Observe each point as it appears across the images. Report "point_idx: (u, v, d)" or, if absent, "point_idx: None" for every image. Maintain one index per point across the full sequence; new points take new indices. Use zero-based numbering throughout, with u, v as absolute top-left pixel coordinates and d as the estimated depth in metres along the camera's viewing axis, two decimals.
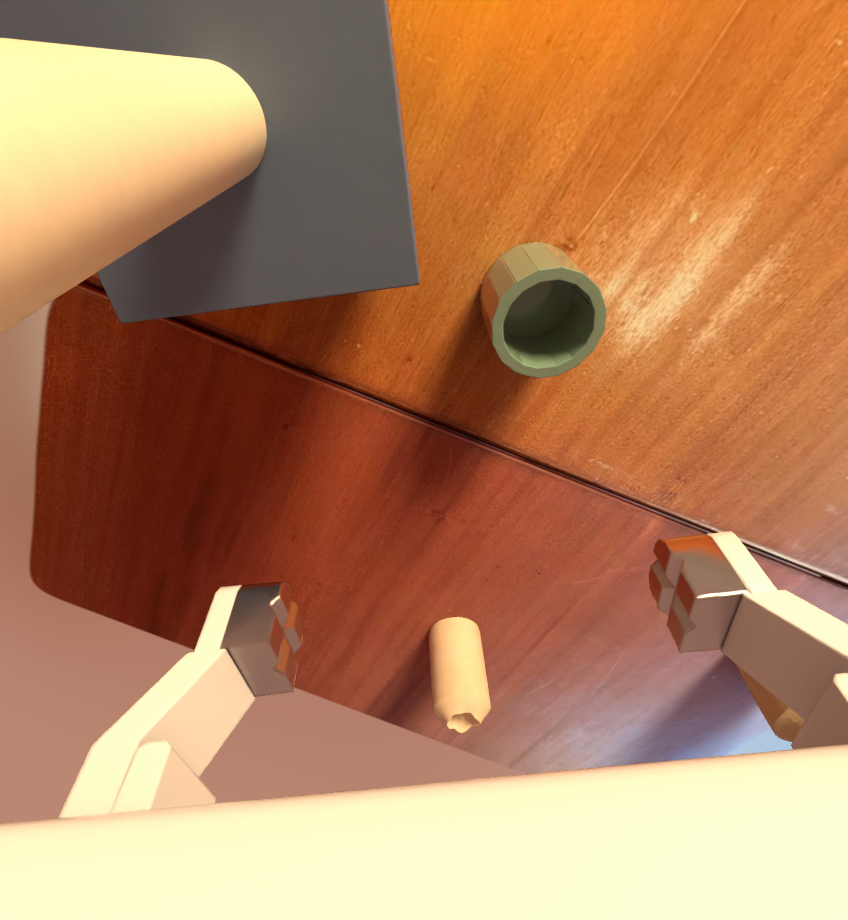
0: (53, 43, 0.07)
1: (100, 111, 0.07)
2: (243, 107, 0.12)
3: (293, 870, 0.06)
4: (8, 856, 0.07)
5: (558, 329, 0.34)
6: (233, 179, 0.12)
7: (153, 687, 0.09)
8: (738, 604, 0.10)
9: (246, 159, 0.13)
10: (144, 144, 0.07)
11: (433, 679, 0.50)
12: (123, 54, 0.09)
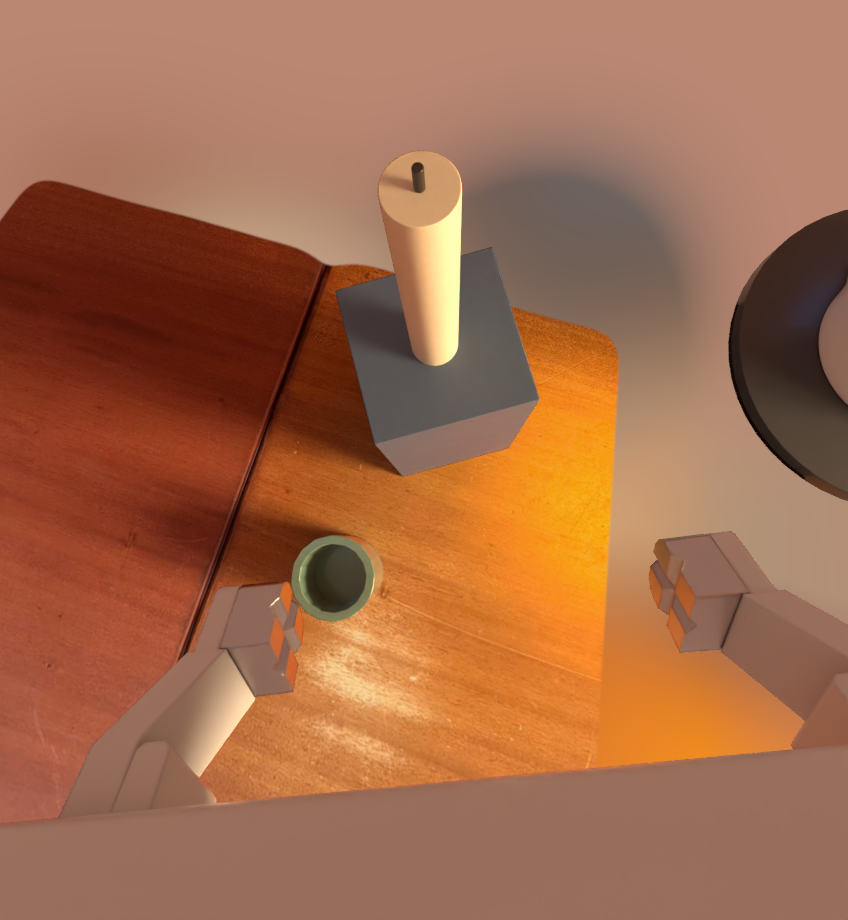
0: (459, 284, 0.23)
1: (446, 293, 0.22)
2: (444, 352, 0.29)
3: (293, 870, 0.06)
4: (9, 856, 0.07)
5: (324, 599, 0.44)
6: (418, 345, 0.28)
7: (153, 687, 0.09)
8: (738, 604, 0.10)
9: (425, 352, 0.29)
10: (437, 305, 0.23)
11: None
12: (458, 305, 0.25)
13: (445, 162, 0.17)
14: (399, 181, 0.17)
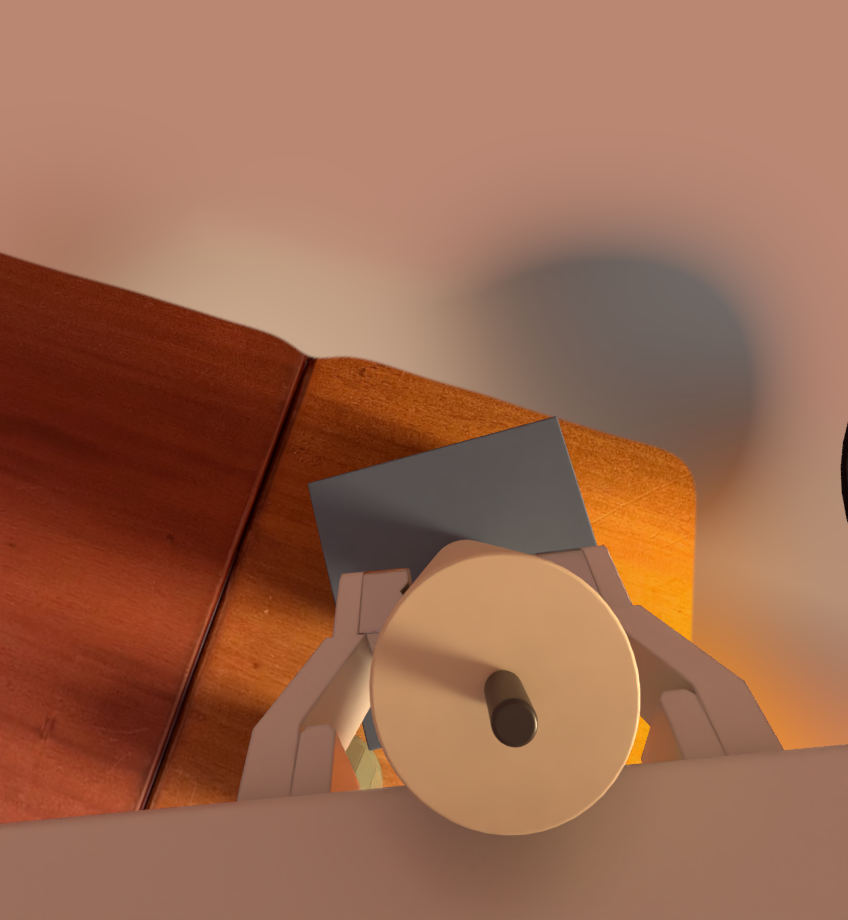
0: None
1: None
2: None
3: (293, 870, 0.06)
4: (9, 856, 0.07)
5: None
6: None
7: (300, 672, 0.09)
8: None
9: None
10: None
11: None
12: None
13: (584, 600, 0.05)
14: (438, 660, 0.05)
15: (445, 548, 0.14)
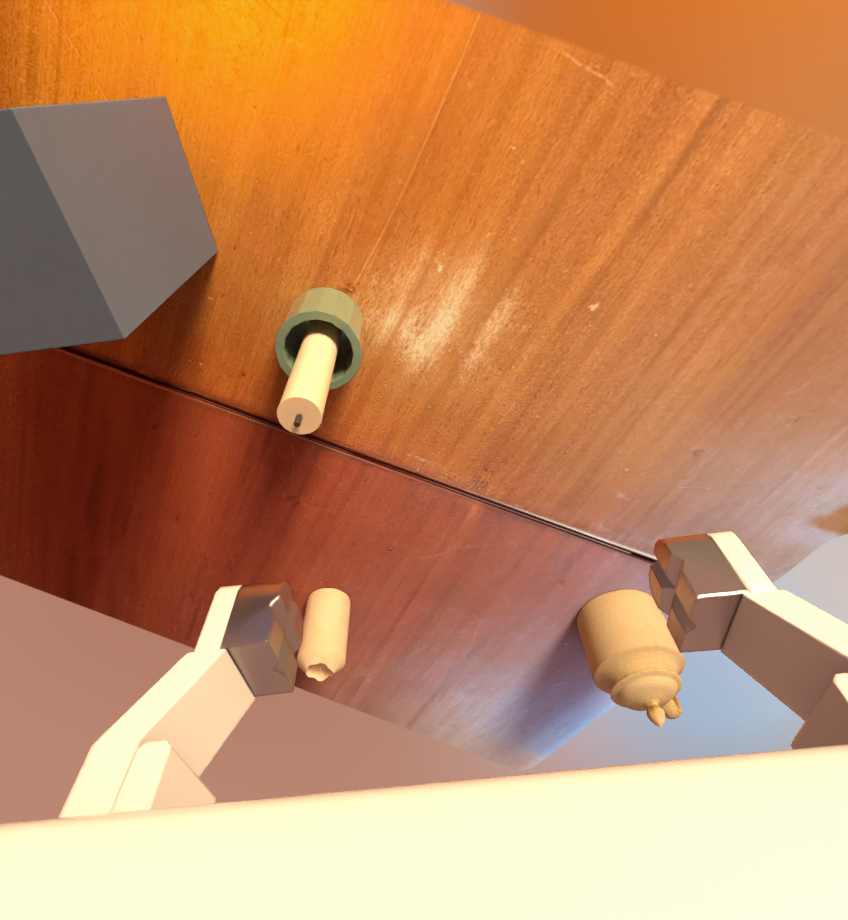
0: (309, 350, 0.37)
1: (324, 365, 0.36)
2: (336, 329, 0.42)
3: (293, 870, 0.06)
4: (8, 856, 0.07)
5: (348, 352, 0.44)
6: None
7: (153, 687, 0.09)
8: (738, 604, 0.10)
9: (339, 342, 0.42)
10: (329, 365, 0.37)
11: None
12: (316, 341, 0.38)
13: (281, 406, 0.32)
14: None
15: None
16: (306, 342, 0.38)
